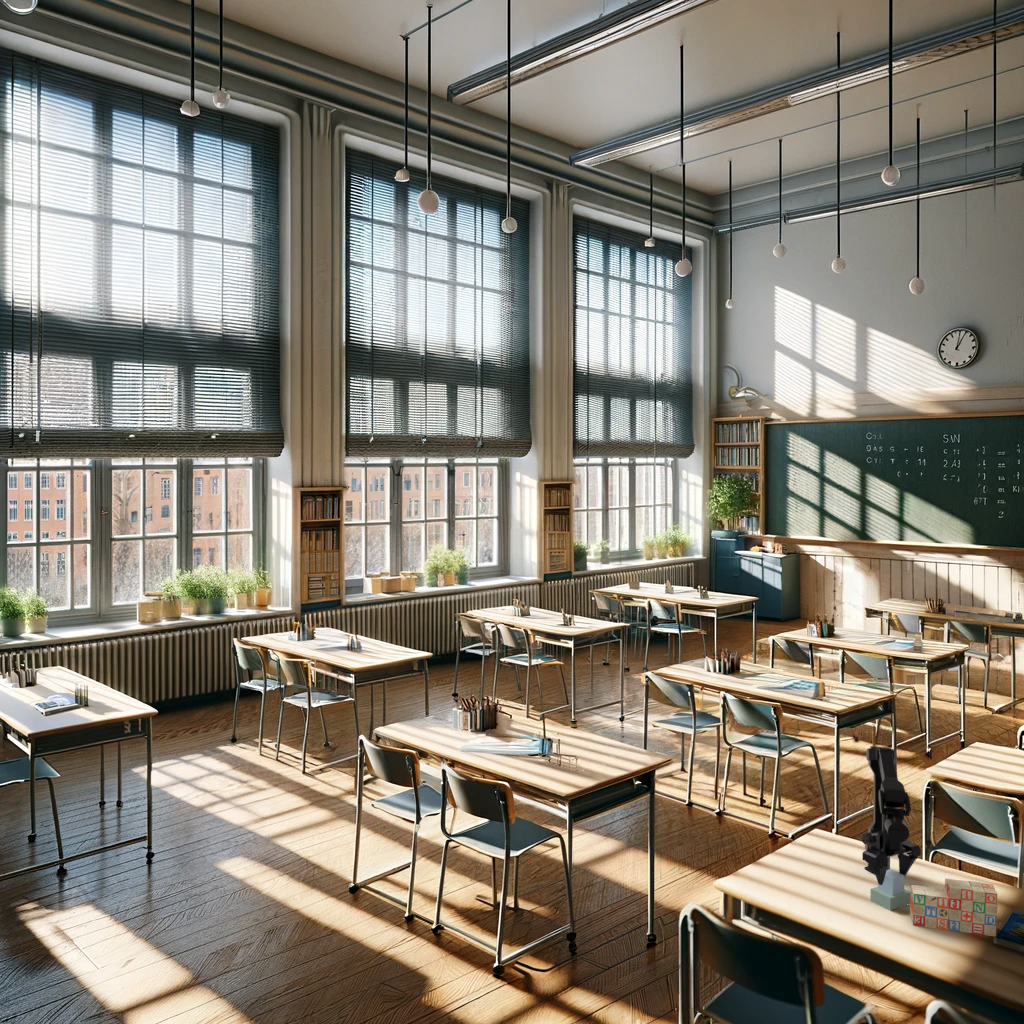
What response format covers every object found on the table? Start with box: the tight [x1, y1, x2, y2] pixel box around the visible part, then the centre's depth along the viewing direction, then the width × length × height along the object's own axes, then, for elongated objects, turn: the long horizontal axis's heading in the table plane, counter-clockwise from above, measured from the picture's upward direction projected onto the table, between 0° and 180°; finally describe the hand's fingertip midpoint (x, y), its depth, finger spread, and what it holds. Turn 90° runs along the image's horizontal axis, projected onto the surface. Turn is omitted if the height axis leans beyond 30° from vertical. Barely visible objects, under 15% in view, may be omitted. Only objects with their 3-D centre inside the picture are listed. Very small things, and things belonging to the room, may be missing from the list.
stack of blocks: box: [909, 878, 998, 937], centre depth 261 cm, size 21×6×12 cm, turn 74°
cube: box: [877, 868, 906, 896], centre depth 274 cm, size 5×5×5 cm
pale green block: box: [869, 886, 911, 911], centre depth 275 cm, size 9×7×4 cm
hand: (891, 881), depth 275 cm, fingers open, 9 cm apart
